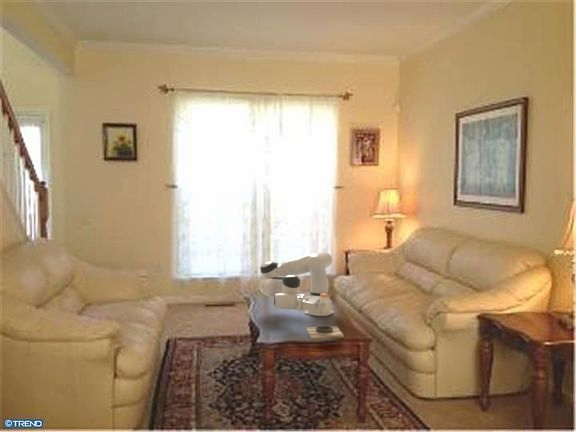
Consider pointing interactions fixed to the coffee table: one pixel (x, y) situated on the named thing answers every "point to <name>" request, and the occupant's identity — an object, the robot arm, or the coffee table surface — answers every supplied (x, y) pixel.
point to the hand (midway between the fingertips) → (326, 303)
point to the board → (324, 332)
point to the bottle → (325, 299)
